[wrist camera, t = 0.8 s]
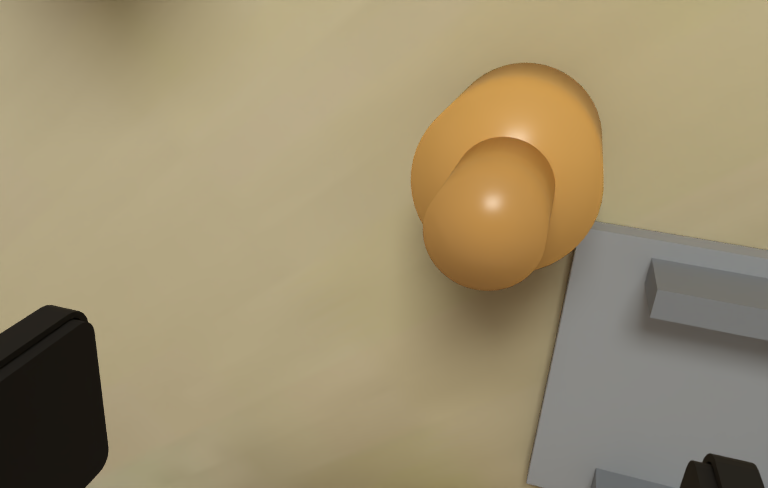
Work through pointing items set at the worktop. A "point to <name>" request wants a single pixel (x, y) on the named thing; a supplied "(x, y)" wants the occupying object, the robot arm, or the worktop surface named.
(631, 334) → the u rest
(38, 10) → the worktop surface
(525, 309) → the worktop surface
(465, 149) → the amber bottle
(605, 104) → the worktop surface
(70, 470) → the robot arm
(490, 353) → the worktop surface
